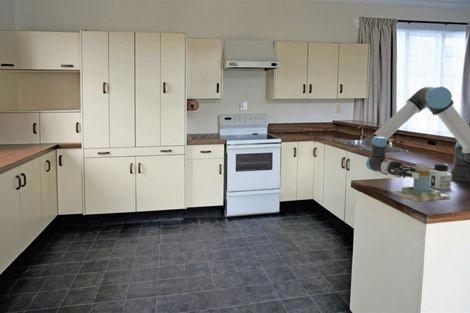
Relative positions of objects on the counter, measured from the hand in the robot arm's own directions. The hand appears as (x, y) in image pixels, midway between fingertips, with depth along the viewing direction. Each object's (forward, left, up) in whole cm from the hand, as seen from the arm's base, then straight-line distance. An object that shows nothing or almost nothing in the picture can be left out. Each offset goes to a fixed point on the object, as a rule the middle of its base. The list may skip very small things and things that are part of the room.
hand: (428, 174), depth 183 cm
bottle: (+1, -3, -10) cm, 11 cm away
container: (-23, -15, -11) cm, 30 cm away
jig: (+1, -3, -11) cm, 12 cm away
